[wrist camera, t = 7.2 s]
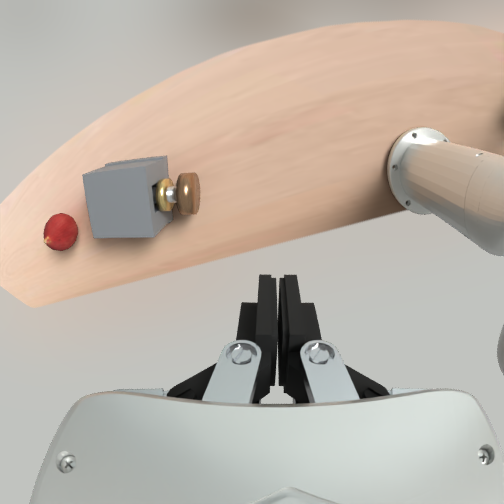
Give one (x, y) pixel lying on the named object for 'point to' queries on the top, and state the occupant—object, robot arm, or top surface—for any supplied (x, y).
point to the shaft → (178, 194)
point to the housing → (126, 198)
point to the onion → (60, 232)
